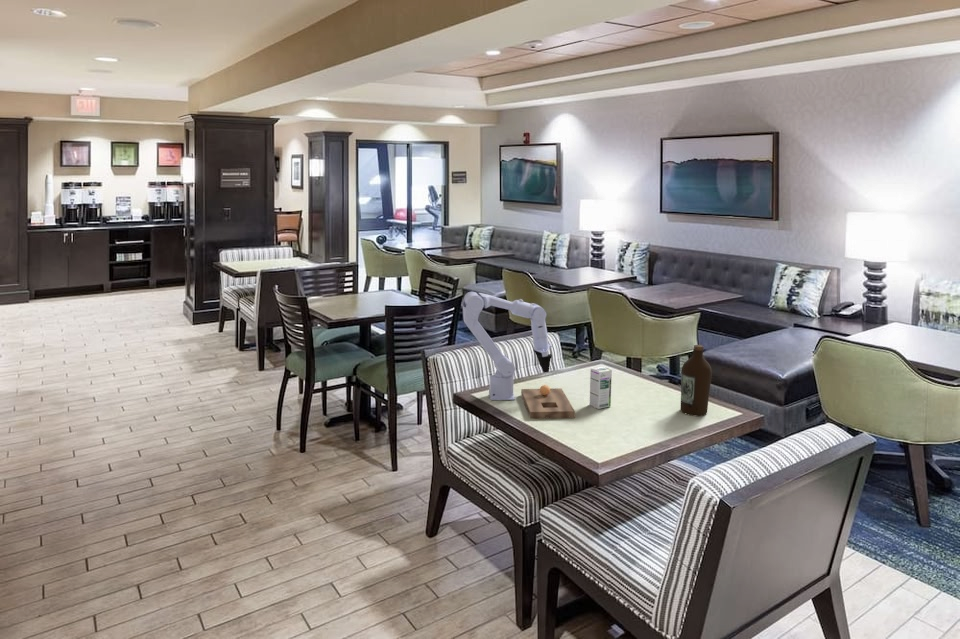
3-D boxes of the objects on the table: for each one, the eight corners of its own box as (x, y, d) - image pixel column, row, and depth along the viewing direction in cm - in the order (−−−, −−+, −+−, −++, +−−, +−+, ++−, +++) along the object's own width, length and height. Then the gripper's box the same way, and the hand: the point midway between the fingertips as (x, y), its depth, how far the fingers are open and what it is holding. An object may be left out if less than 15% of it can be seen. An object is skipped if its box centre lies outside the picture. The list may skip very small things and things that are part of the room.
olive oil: (694, 405, 255) (699, 341, 250) (715, 414, 246) (720, 347, 240) (672, 409, 251) (676, 343, 245) (692, 418, 241) (697, 350, 236)
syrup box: (598, 409, 250) (600, 371, 247) (588, 404, 255) (590, 367, 252) (610, 407, 253) (612, 369, 249) (601, 402, 258) (602, 365, 255)
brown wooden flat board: (530, 418, 240) (530, 412, 240) (521, 395, 266) (521, 389, 265) (574, 417, 241) (574, 411, 241) (561, 394, 267) (561, 388, 266)
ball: (540, 397, 256) (540, 387, 255) (538, 393, 260) (539, 383, 259) (550, 396, 256) (551, 386, 255) (549, 393, 260) (549, 383, 259)
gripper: (553, 338, 254) (557, 372, 257) (547, 329, 268) (551, 361, 271) (534, 342, 254) (539, 375, 257) (529, 332, 268) (534, 364, 271)
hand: (544, 368), depth 264 cm, fingers open, 7 cm apart
